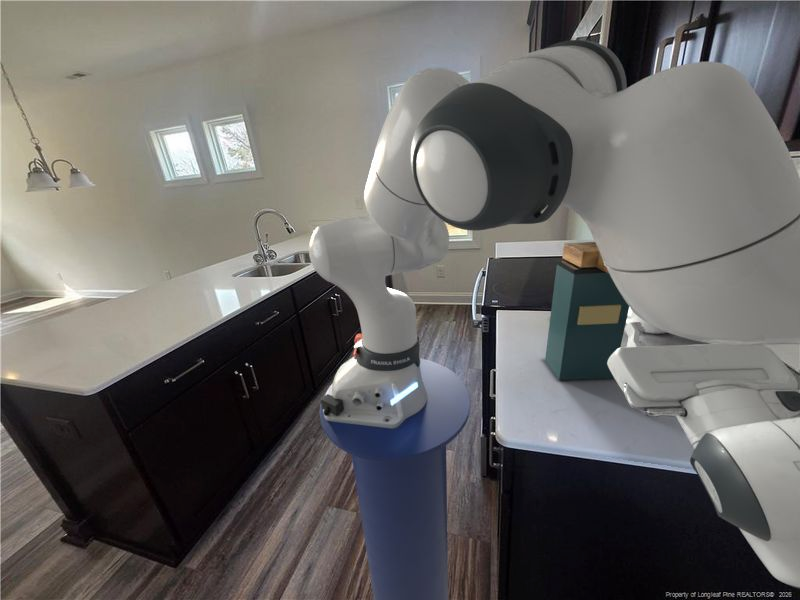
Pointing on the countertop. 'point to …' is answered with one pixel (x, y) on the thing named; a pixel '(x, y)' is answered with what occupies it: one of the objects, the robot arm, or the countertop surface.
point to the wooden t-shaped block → (584, 255)
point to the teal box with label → (584, 322)
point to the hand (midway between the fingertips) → (663, 322)
